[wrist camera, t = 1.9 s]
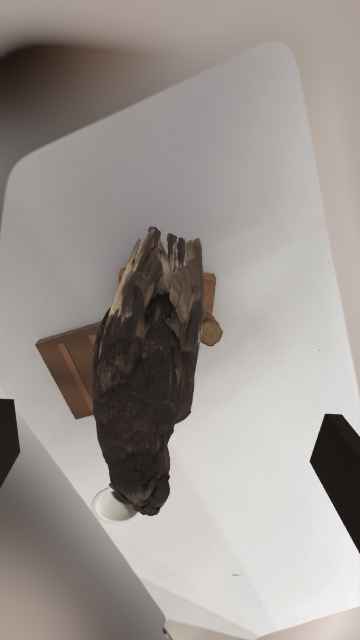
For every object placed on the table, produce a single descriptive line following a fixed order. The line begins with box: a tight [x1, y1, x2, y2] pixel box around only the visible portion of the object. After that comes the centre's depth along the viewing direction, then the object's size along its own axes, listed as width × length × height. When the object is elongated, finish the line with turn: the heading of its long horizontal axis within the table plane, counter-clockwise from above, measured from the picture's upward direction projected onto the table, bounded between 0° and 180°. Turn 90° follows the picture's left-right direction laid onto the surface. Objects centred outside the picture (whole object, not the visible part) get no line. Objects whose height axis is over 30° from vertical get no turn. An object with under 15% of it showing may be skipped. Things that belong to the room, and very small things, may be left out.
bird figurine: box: [92, 226, 223, 516], centre depth 25 cm, size 11×14×25 cm
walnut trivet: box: [35, 322, 101, 419], centre depth 40 cm, size 12×10×1 cm
